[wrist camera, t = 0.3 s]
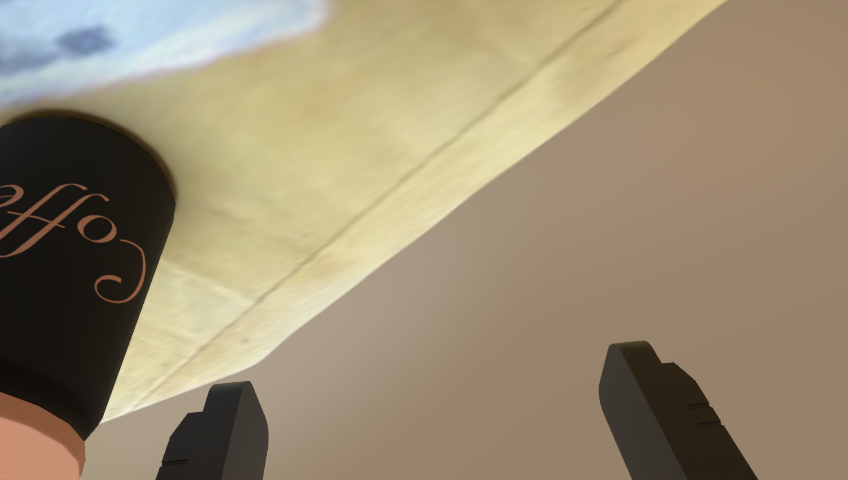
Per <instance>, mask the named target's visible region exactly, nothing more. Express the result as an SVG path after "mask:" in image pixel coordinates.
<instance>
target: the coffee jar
mask: <svg viewBox="0 0 848 480" xmlns="http://www.w3.org/2000/svg"><path fill="white" fill-rule="evenodd" d="M174 210H175V201H174V198H173V195H172V192H171V189H170V186H169V182H168V179H167V178H166V177H165V175H164V174H163V172H162V171H161V170H160V168H159V167H158V166H157V164H156V163H155V162H154V160H153V159H152V158H151V156H150V155H149V154H148V153H147V152H145V151H144V150H143V149H142V148H140V147H139V146H138V145H136V144H135V143H134V142H133V141H131V140H130V139H129V138H127V137H125V136H123V135H121V134H119V133H117V132H115V131H113V130H111V129H109V128H107V127H105V126H103V125H99V124H95V123H91V122H87V121H83V120H79V119H75V118H39V117H35V118H31V119H27V120H24V121H20V122H17V123H13V124H9V125H6V126H2V127H1V128H0V480H78V479H79V478H80V477H81V474H82V471H83V467H84V463H85V443H84V441H85V440H86V439H87V438H88V437H89V436H90V434H91V433H92V432H93V431H94V430H95V428H96V427H97V426H98V424H99V423H100V421H101V420H102V418H103V415H104V412H105V410H106V407H107V404H108V401H109V398H110V396H111V393H112V390H113V387H114V385H115V382H116V379H117V376H118V373H119V371H120V368H121V365H122V362H123V360H124V357H125V354H126V351H127V348H128V346H129V343H130V340H131V337H132V335H133V332H134V329H135V326H136V323H137V321H138V318H139V315H140V312H141V310H142V307H143V304H144V301H145V298H146V296H147V293H148V290H149V287H150V285H151V282H152V279H153V276H154V273H155V271H156V268H157V265H158V262H159V260H160V257H161V254H162V251H163V248H164V246H165V243H166V240H167V237H168V235H169V232H170V229H171V226H172V223H173V218H174Z"/></svg>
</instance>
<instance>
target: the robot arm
mask: <svg viewBox="0 0 848 480" xmlns="http://www.w3.org/2000/svg"><path fill="white" fill-rule="evenodd" d="M599 398H600V404H601V407H602V410H603V413H604V415H605V418H606V420H607V422H608V425H609V427H610V429H611V432H612V434H613V436H614V439H615V441H616V443H617V446H618V448H619V450H620V453H621V455H622V457H623V459H624V462H625V464H626V467H627V469H628V471H629V473H630V476H631V478H632V480H758V479H757V477H756V476H755V474H754V472H753V471H752V469H751V468H750V466H749V464H748V463H747V461H746V460H745V458H744V457H743V455H742V453H741V452H740V450H739V449H738V447H737V446H736V444H735V443H734V441H733V439H732V438H731V436H730V435H729V433H728V431H727V430H726V428H725V427H724V425H723V426H722V425H721V422H720V421H721V420H720V419H719V417H718V416H717V414H716V413H715V411H714V409H713V408H712V407H710V406H709V402H708V400H707V398H706V397H705V395H704V394H703V392H702V391H701V389H700V387H699V386H698V384H697V383H696V381H695V380H694V379H693V378H692V377H690V376H689V375H688V374H687V373H686V372H685V371H683V370H682V369H681V368H680V367H679V366H678V365H676V364H675V363H674V362H672V363H663V364H662V363H661V361H660V360H659V358H658V356H657V355H656V353H655V351H654V350H653V348H652V346H651V345H650V344H649V343H648V342H646V341H634V342H625V343H615V344H611V345H610V346H609V349H608V352H607V356H606V360H605V363H604V367H603V371H602V375H601V379H600V383H599ZM267 450H268V426H267V421H266V418H265V415H264V413H263V411H262V408H261V405H260V403H259V400H258V398H257V396H256V393H255V391H254V388H253V386H252V384H251V382H250V381H243V382H233V383H223V384H215V385H213V386H212V387H211V388H210V390H209V393H208V396H207V399H206V403H205V406H204V409H203V412H195V413H188V414H187V415H186V416H185V418H184V419H183V420H182V422H181V423H180V424H179V426H178V427H177V428H176V430H175V431H174V432H173V434H172V435H171V436H170V439H169V442H168V445H167V448H166V451H165V454H164V457H163V460H162V467H160V468H159V472H158V474H157V477H156V480H262V479H263V474H264V468H265V462H266V456H267Z"/></svg>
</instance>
